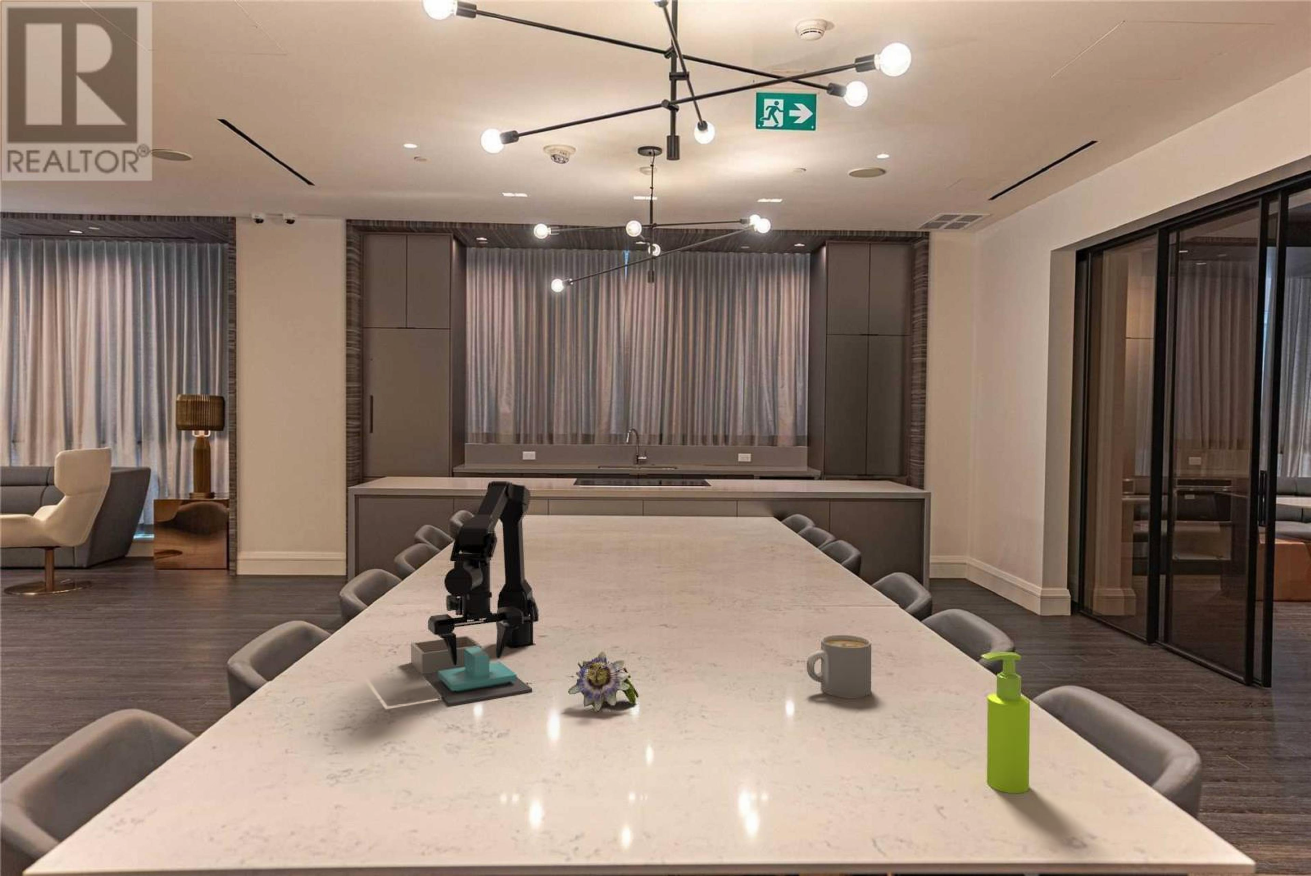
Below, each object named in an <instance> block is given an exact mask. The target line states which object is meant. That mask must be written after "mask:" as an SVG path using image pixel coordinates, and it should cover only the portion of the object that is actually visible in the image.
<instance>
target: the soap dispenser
mask: <svg viewBox="0 0 1311 876" xmlns="http://www.w3.org/2000/svg"><path fill="white" fill-rule="evenodd" d="M980 657H981V658H982V659H983V660H985V661H987V662H992V661H999V660H1002V671H1000V672H999V673H997V674H996V692H993V693H989V694H988V695H987V711H986V712H987V713H986V714H987V720H986V721H987V726H986V727H987V729H986V732H987V733H986V738H987V739H986V752H987V753H986V783H987V785H988V786H989V787H991V788H993V789H994V790H997V791H1000V792H1003V793H1009V794H1022V793H1025V792H1027V791H1029V789H1030V736H1031V735H1030V734H1031V733H1030V729H1031V725H1030V722H1031V720H1030V719H1031V717H1030V716H1031V713H1030V712H1031V711H1030V710H1031V707H1030V706H1031V700H1029V699H1028V697H1025V696H1023V695H1022V676H1021V675H1019V674H1017V673H1016V661H1021V660H1022V656H1021V655H1020V654H1018V653H1016V652H1011V651H1010V652H1009V651H992V652H988V653H984V654H980Z"/></svg>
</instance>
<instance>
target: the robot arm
mask: <svg viewBox="0 0 1311 876" xmlns="http://www.w3.org/2000/svg"><path fill="white" fill-rule="evenodd" d="M530 502H531V492H530V490H529V488H527V487H526V486H525V485H523V484H514V483H513V482H511V481H510V482H509V480H508V481H507V480H504V481H503V480H492V481H491V482H490V481H489V482H488V483H487V489H486V493H485V494H484V497H483V499H482V500H481V502H480V505H479V506H478V508H477V511H476V513H475V514H474V515H473V517H471V518H469V519H467V520H465V521H464V522H463V523H462V524H461V526H460V528H459V529H458V530H457V531H456V534H455V537H454V542H453V545H452V549H451V554H450V557H449V561H450V562H454V563H453V568H452V569H450V570H448V572H447V573H446V575H445V577H444V580H443V583H444V588H445V591H447V592H448V593H449V594H447V595H446V598H445V607H446V611H447V612H451V611H452V612H453V611H455V615H456V616H458V617H452V616H451V615H449V614H448V613H443V614H436V615H430V617H429V618H428V621H427V630H428V631H429V632H431V633H432V634H433V635H435V636H438V637H439V639H444V641H445V643H446V645H447V648H448V651H449V654H450V656H451V659H452V662H453V664H454V665H456V664H457V645H456V637H457V634H456V633H455V632H454V630H455V628H459V627H460V628H461V627H469V626H475V625H482V624H483V625H484V624H490V623H491V624H492V623H493V624H494V623H495V627H496V646H495V652H496V653H495V655H496V659H498V660H500V659H501V656H502V654H503V652H504V650H505V647H508V649H518V648H526V647H532V646H537V644H536V643H535V642H534V623H536V622H539V613H540V612H539V607H538V605H537V602H536V599H535V597H534V596H533V595H534V594H533V588H532V587H531V585H530V584H529V583H528V580H526V577H525V574H526V573H525V556H524V553H525V551H524V534H523V531H524V529H523V519H524V518H525V516H526V514H527V513H528V510H529V505H530ZM498 521H500V523H501V524H502V541H503V542H502V543H503V564H504V565H503V566H504V584H503V586H502V587H501V589H500V591H499V593H498V595H497V596H498V598H497V607H496V608H497V609H496V610H497V611H496V612H492V610H491V599H492V598H493V593H492V591H491V561H492V558H493V557H494V554H495V550H496V547H497V543H498V537H497V534H496V531H495V528H496V526H497V524H498ZM460 552H461V553H460Z"/></svg>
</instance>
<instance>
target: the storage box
mask: <svg viewBox="0 0 1311 876" xmlns="http://www.w3.org/2000/svg"><path fill="white" fill-rule="evenodd" d="M456 645H457V664H456V665H454V664H453V662H452V659H451V656H450V654H449V651H448V648H447V645H446V643H445V641H444V639H443V638H438V639H432V640H423V641H417V642H416V641H415V642H410V664H412V666H414V667H415V669H416V670H417V671H418V672H419V673H420V674H421V675H424V676H425V675H429V674H430V675H431V674H438V671H442V670H448V669H455V668H462V667H465V649H466V648H473V647H480V648H481V649H482V645H481V644H480V643H479V642H477V641H476V640H475V639H473V638H472V637H470V636H469V635H462V636H456ZM460 647H464V648H460Z"/></svg>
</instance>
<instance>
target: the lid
mask: <svg viewBox="0 0 1311 876" xmlns="http://www.w3.org/2000/svg"><path fill="white" fill-rule="evenodd" d="M437 674H438V677H439V678H440V679H441V680H442V681H443V682H444V683H445V684H446V685H447V686H448V687H449V688H450V689H451V690H452V691H455V690H456V691H457V692H458V691H464V690H470V689H476V688H482V687H489V686H495V685H501V684H507V682H510V681H516V680H517V677H518V676H517V674H516V673H515V672H514V671H513V670H511V669H510V668H509V667H507V666H506V665H505V664H504V663H502V662H501V661H497V662H496V661H495V662H490V654H489V653H487V652H486V651H485V650H484V649H482V647H481V648H480V647H473V648H466V649H465V667H462V668H455V669H448V670H442V671H438V672H437Z"/></svg>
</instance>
